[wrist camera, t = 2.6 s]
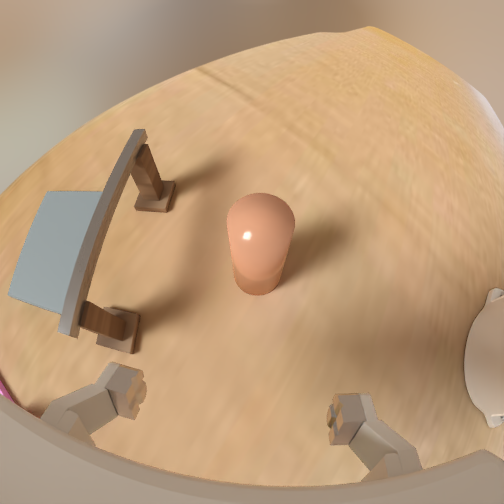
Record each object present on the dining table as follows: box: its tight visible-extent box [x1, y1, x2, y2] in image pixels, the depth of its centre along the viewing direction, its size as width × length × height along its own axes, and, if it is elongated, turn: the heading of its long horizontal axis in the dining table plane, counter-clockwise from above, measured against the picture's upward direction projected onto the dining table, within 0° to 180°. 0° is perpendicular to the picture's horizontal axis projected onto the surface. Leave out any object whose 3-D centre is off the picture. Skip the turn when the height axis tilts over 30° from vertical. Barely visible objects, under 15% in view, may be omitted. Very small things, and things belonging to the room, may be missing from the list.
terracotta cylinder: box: [227, 193, 295, 295], centre depth 23 cm, size 5×5×10 cm
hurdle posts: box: [80, 144, 175, 354], centre depth 25 cm, size 4×20×8 cm, turn 173°
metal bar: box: [58, 129, 148, 339], centre depth 21 cm, size 1×20×1 cm, turn 174°
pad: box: [8, 191, 103, 314], centre depth 29 cm, size 11×16×1 cm
